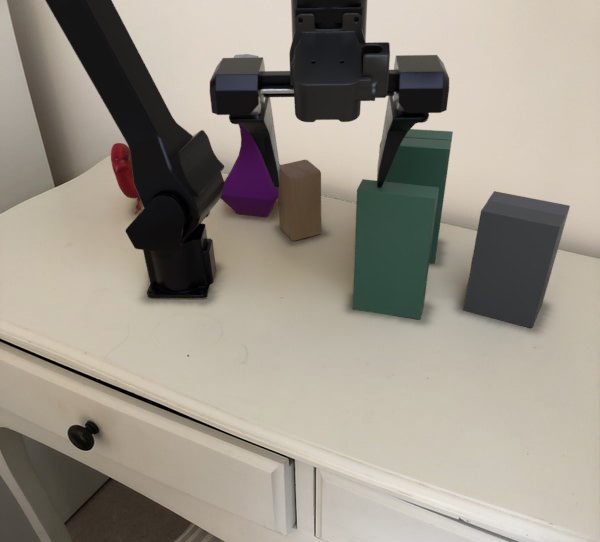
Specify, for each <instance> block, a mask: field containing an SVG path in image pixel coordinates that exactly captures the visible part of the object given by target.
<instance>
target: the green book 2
mask: <svg viewBox="0 0 600 542" xmlns="http://www.w3.org/2000/svg"><path fill="white" fill-rule="evenodd" d="M438 192H439V187H431V186H421V185H412V184H403V183H393V182H384V183H383V186H382V187H377V180H374V179H373V180H372V179H363V178H362V179H361V180H360V183H359V185H358V186H357V188H356V205H355V206H356V207H355V210H356V211H355V232H354V256H353V257H354V262H353V283H352V284H353V285H352V310H357V311H362V312H369V313H375V314H381V315H388V316H394V317H401V318H408V319H412V320H413V319H414V320H421V318H422V315H423V312H424V311H423V310H424V307H425V300H426V299H425V298H426V291H427V286H428V285H427V284H428V276H429V269H430V263H429V261H430V254H431V246H432V238H433V231H434V223H435V215H436V207H437V200H438Z"/></svg>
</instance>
